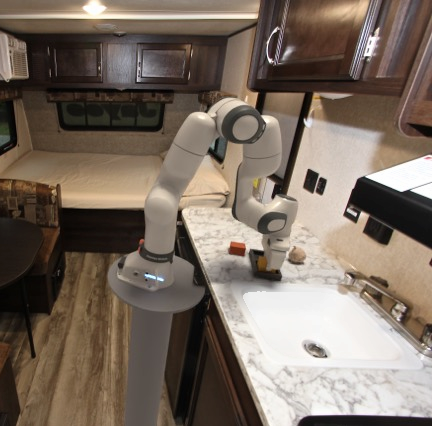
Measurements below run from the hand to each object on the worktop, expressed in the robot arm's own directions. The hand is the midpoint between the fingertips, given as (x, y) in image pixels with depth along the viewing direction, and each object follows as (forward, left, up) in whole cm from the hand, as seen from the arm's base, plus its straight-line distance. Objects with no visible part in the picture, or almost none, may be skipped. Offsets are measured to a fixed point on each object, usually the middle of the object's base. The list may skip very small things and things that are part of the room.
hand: (266, 265), depth 117 cm
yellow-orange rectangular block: (0, 0, -2) cm, 2 cm away
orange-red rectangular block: (-10, +12, -3) cm, 16 cm away
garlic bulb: (+14, +13, -3) cm, 20 cm away
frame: (0, +4, -3) cm, 5 cm away
